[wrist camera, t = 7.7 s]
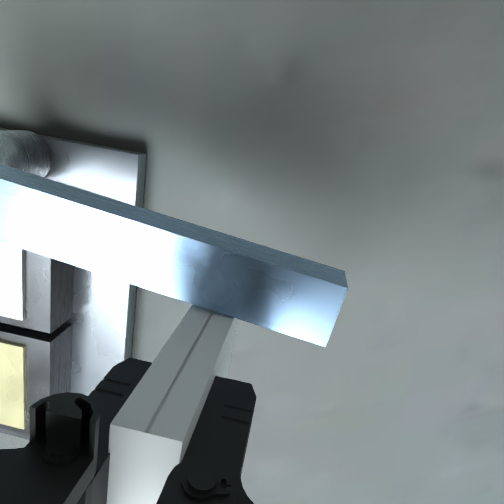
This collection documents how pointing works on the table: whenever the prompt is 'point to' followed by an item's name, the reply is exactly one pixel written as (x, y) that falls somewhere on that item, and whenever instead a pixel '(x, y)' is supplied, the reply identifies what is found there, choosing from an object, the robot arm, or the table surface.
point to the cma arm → (170, 256)
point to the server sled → (62, 286)
